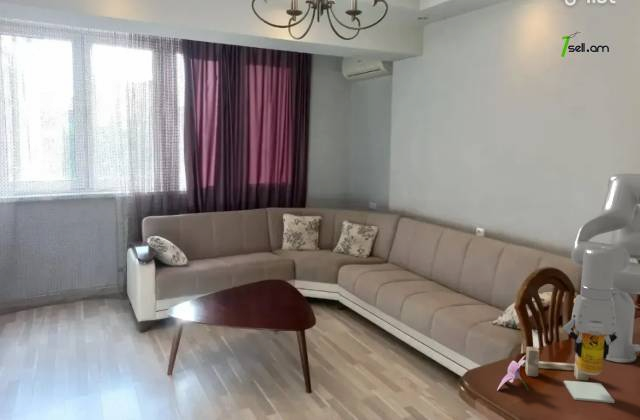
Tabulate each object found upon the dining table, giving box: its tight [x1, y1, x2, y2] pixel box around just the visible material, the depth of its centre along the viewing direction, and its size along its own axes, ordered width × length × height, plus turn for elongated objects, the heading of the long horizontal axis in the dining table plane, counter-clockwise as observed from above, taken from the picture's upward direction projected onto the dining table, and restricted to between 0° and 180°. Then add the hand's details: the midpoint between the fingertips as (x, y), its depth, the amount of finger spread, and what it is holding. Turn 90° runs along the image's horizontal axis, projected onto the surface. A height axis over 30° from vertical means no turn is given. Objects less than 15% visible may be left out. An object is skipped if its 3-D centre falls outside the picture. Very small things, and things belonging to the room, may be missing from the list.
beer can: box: [577, 322, 605, 376], centre depth 139 cm, size 6×6×15 cm
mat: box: [563, 380, 615, 404], centre depth 141 cm, size 10×10×1 cm
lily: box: [496, 354, 530, 391], centre depth 143 cm, size 12×12×10 cm
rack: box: [521, 346, 590, 381], centre depth 153 cm, size 17×8×8 cm, turn 80°
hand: (590, 355), depth 139 cm, fingers closed on beer can, 5 cm apart
